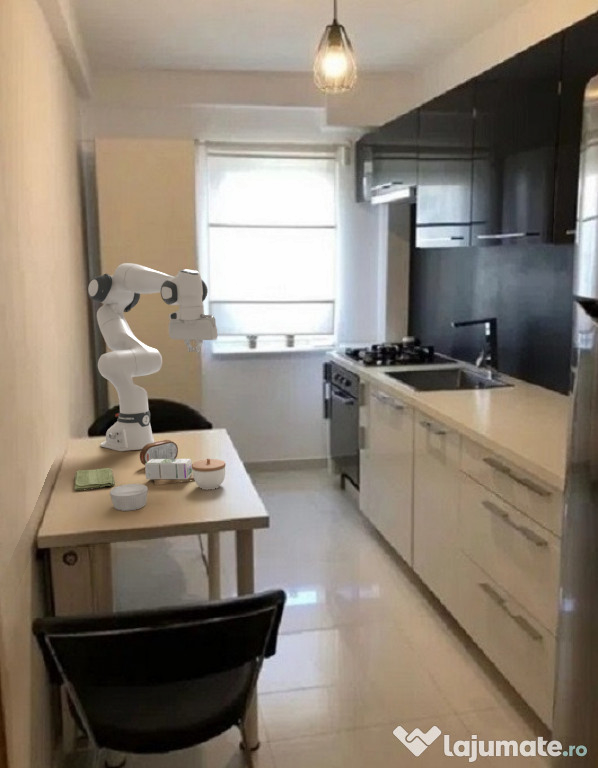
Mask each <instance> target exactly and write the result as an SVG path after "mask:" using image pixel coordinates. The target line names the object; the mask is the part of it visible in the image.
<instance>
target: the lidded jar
mask: <svg viewBox="0 0 598 768" xmlns="http://www.w3.org/2000/svg"><path fill="white" fill-rule="evenodd" d="M192 471H193V477H194V480H195V481H194V482H195V484H196V485H197V486H198V487H199V488H200V489H201V488H202V489H201V490H204V489H206V490H207V491H209V490H208V489H212V490H215V488H216V489H219V487H220V486H221V485H222V483H223V482H224V480H225V477H226V462H225V461H224V460H222V459H218V458H217V459H212V458H211V459H210V458H209V457H208V458H206V459H202V460H198V461H195V462H192Z"/></svg>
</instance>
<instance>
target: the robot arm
mask: <svg viewBox="0 0 598 768" xmlns="http://www.w3.org/2000/svg"><path fill="white" fill-rule="evenodd" d="M208 291H209V290H208V286H207V284H206V283H205V281H204V280H203V279H202V277H201V274H200V272H199V271H197V270H196V269H195V270H194V269H180V270H178V272H177V274H176V275H171V274H167V273H165V272H162V271H158V270H155V269H152V268H150V267H147V266H144V265H141V264H138V263H131V262H126V263H125V262H124V263H121V264H119V265H118V266H117V267H116V268H115V271H114V273H113V274H112V275H109V274H108V273H104V274H103V275H97V276H95V277H93V278H92V279H90V281H89V283H88V286H87V294H88V297H89V299H90V300H92V301H94V302H95V303H101V304H103V305H101V306H100V307H99V308H98V310H97V312H96V320H97V324H98V327H99V330H100V333H101V335H102V337H103V339H104V342H105V343H106V346H107V347H108V348H109V349H110V350H111V351H109V352H106V353H103V354H101V355H100V357H99V358H98V362H97V369H98V372H99V374H100V375H101V376H102V377H103V378H104V379H106V380H108V381H109V382H110V383H111V384H112V386H113V387H114V388H115V391H116V393H117V397H118V403H119V412H118V413H115V418H117V419H116V420H117V421H116V422H114V424H113V425H111V426H110V427H109V428H108V429H107V431H106V433H105V440H104V441H102V442H101V443H100V445H99V446H100V447H103V448H106V449H110V450H114V451H119V452H125V451H126V452H127V451H135V450H142V448H143V447H144V446H145V445H147V444H149V443H154V442H155V440H154V436H153V431H152V426H151V412H150V410H149V399H148V392H147V390H146V389H145V388H144V387H142V386H140V385H137V384H135V382H134V381H133V378H134V377H135V378H136V377H141V376H148V375H151V374H155V373H158V372H159V371H160V370H161V368H162V366H163V357H162V356H163V355H162V354H161V353H160V351H159V350H158V349H157V348H154V347H151V346H150V345H149V346H148V344H145V343H144V342H142V341H141V340H140V339H138V338H137V337H136V336H135V334H134V333H133V331H132V329H131V328H130V325H129V323H128V321H127V320H126V318H125V315H124V313H128V312H130V311H131V309H133V308H135V307H136V305H137V304H138V303H139V302H140V299H141V295H148V294H157V293H160V298H161V299H162V301H163V302H164V303H165V304H166V305H170V306H178V307H179V308H178V310H176V311H173V312H171V313H169V314H168V319H169V323H168V336H169V339H171V340H184V342H183V343H184V345H185V346H186V348H187V352H189V353H192V352H195V353H201V347H202V345H203V341H215V340H217V338H218V328H217V324H216V318H215V316H213V315H212V314H206V313H205V310H204V301H205V300H206V298H207V296H208V293H209V292H208ZM192 341H195V342H196V346H195V347H194V346H192V344H191V342H192Z"/></svg>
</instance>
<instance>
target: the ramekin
mask: <svg viewBox="0 0 598 768" xmlns="http://www.w3.org/2000/svg"><path fill="white" fill-rule="evenodd" d="M148 492H149V488H148V486H147V485H144V484H140V483H128V484H122V485H117V486H114V487H113V488H112V489H110V490H109V495H110V497H111V502H112V505H113V507H114V509H115V510H117V511H120V510H121V512H122V511H123V512H132V511H137V510H139V509H142V508H143V507H145V505H146V504H147V500H148V499H147V497H148ZM136 509H137V510H136Z"/></svg>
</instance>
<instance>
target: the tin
mask: <svg viewBox="0 0 598 768" xmlns="http://www.w3.org/2000/svg"><path fill="white" fill-rule="evenodd" d="M178 447H179V446H178V445H177V443H175V442H174V441H173V440H171V439H164V440H160V441H154V443H149V444H147V445H145V446H144V447H143V448H142V449H140V453H139V460H140V462H141V464H142V465H143V466H145V463H146V462H148V461H149V460H150V459H177V457H178V453H179V448H178Z"/></svg>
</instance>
